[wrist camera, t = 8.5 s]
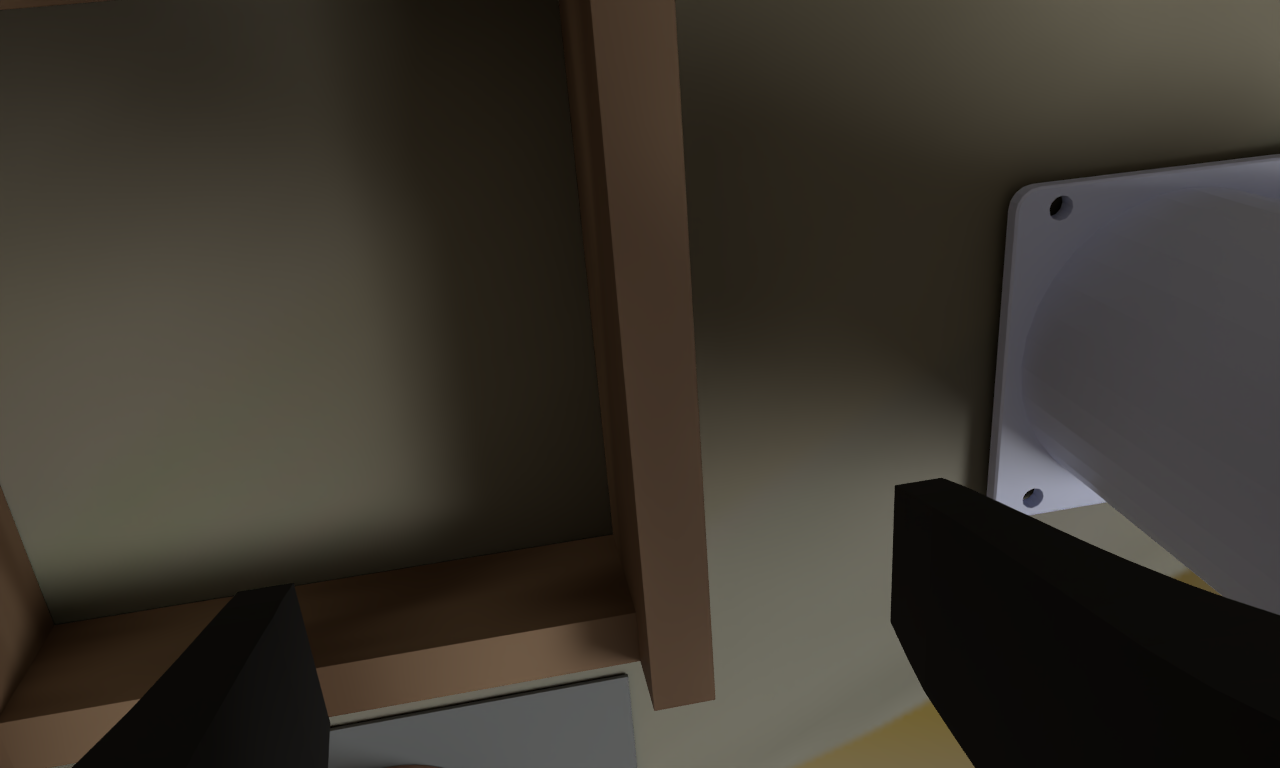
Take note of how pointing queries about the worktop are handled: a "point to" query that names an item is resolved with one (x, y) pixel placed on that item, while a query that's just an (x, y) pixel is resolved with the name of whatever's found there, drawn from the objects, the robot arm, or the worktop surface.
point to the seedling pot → (413, 766)
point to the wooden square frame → (497, 583)
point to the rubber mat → (502, 732)
